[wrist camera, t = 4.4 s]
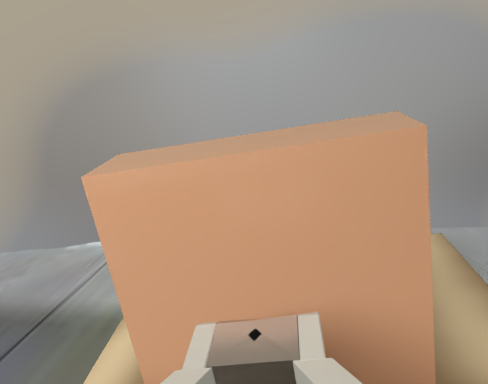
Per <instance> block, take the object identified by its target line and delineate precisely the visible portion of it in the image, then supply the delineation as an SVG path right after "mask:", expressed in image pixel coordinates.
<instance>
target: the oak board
mask: <svg viewBox="0 0 488 384" xmlns="http://www.w3.org/2000/svg"><path fill="white" fill-rule="evenodd" d="M431 260H432V289H433V318H434V347H435V377H436V384H488V285H487V284H486V283H485V281H484V280H483V279H482V278H481V277H480V276H479V275H478V274H477V273H476V271H475V270H474V269H473V268H472V267H471V266H470V265H469V264H468V263H467V261H466V260H465V259H464V258H463V257H462V256H461V255H460V254H459V252H458V251H457V250H456V249H455V248H454V247H453V246H452V245H451V244H450V242H449V241H448V240H447V239H446V238H445V237H444V236H443V235H442V234H441V233H439V234H431ZM83 384H144V381H143V378H142V375H141V371H140V368H139V365H138V362H137V358H136V355H135V352H134V349H133V345H132V342H131V339H130V336H129V332H128V329H127V326H126V323H125V319H124V317H123V319H122V320H121V322H120V324H119V325H118V327H117V329H116V330H115V332H114V334H113V335H112V337H111V339H110V340H109V342H108V344H107V345H106V347H105V348H104V350H103V352H102V353H101V355H100V357H99V358H98V360H97V362H96V363H95V365H94V367H93V368H92V370H91V372H90V373H89V375H88V377H87V378H86V380H85V381H84V383H83Z"/></svg>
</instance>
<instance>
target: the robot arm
mask: <svg viewBox="0 0 488 384" xmlns="http://www.w3.org/2000/svg"><path fill="white" fill-rule="evenodd" d="M160 384H363V383H361V382H360V381H359V380H358V379H357V378H356V377H354V376H353V375H352V374H351V373H350V372H349V371H347V370H346V369H345V368H344V367H343V366H341V365H340V364H339V363H338V362H337V361H336V360H334V359H333V358H326V355H325V348H324V341H323V334H322V328H321V321H320V314H319V312H310V313H303V314H298V315H290V316H281V317H272V318H263V319H245V320H231V321H218V322H207V323H199V324H197V325H196V327H195V330H194V333H193V336H192V339H191V342H190V345H189V348H188V351H187V354H186V358H185V361H184V364H183V367H182V370H175V371H174V372H173V373H172V374H171V375H170V376H169V377H167V378H166V379H165V380H164V381H163V382H162V383H160Z"/></svg>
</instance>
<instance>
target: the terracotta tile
mask: <svg viewBox="0 0 488 384" xmlns="http://www.w3.org/2000/svg"><path fill="white" fill-rule="evenodd" d="M428 173H429V172H428V143H427V125H425V124H423V123H420V122H419V121H416V120H414V119H412V118H410V117H408V116H406V115H404V114H402V113H400V112H398V111H394V112H388V113H381V114H375V115H369V116H362V117H356V118H349V119H343V120H336V121H330V122H323V123H317V124H311V125H304V126H298V127H292V128H285V129H279V130H273V131H266V132H259V133H253V134H246V135H241V136H234V137H227V138H221V139H214V140H208V141H202V142H195V143H189V144H183V145H176V146H170V147H164V148H157V149H151V150H144V151H137V152H131V153H125V154H119V155H117V156H115V157H114V158H112V159H111V160H109V161H107V162H105V163H104V164H102V165H100V166H99V167H97V168H96V169H94V170H92V171H91V172H89V173H87V174H86V175H84V176H82V177H81V179H82V182H83V185H84V189H85V192H86V195H87V198H88V202H89V205H90V208H91V212H92V215H93V218H94V221H95V224H96V228H97V231H98V234H99V238H100V241H101V244H102V247H103V251H104V254H105V257H106V260H107V264H108V267H109V270H110V274H111V277H112V280H113V283H114V287H115V290H116V293H117V296H118V300H119V303H120V306H121V309H122V313H123V316H124V319H125V323H126V326H127V329H128V332H129V336H130V339H131V342H132V345H133V349H134V352H135V355H136V358H137V362H138V365H139V368H140V371H141V375H142V378H143V381H144V384H160V383H162V382H163V381H164V380H165V379H166V378H167V377H169V376H170V375H171V374H172V373H173V372H174V371H175V370H182V367H183V364H184V361H185V358H186V354H187V351H188V348H189V345H190V342H191V339H192V336H193V333H194V330H195V327H196V325H197V324H199V323H207V322H218V321H231V320H245V319H263V318H272V317H281V316H290V315H298V314H303V313H310V312H319V314H320V321H321V328H322V334H323V341H324V348H325V355H326V358H333V359H334V360H336V361H337V362H338V363H339V364H340V365H341V366H343V367H344V368H345V369H346V370H347V371H349V372H350V373H351V374H352V375H353V376H354V377H356V378H357V379H358V380H359V381H360V382H361V383H363V384H436V377H435V347H434V318H433V289H432V260H431V230H430V203H429V174H428Z"/></svg>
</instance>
